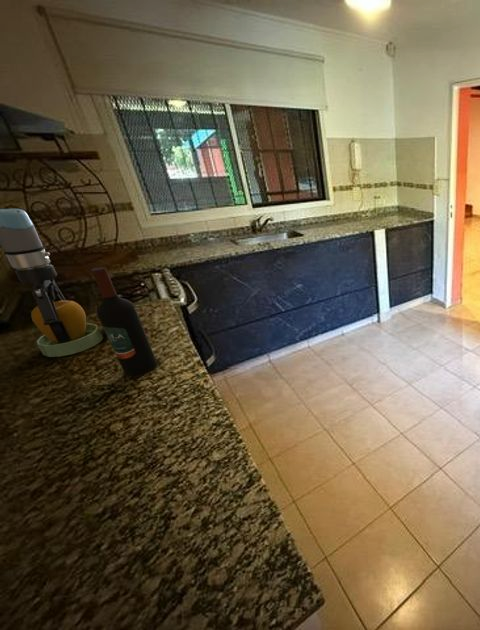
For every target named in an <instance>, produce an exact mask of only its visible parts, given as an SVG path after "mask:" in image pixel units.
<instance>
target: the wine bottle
mask: <svg viewBox="0 0 480 630" xmlns="http://www.w3.org/2000/svg"><path fill="white" fill-rule="evenodd" d="M90 272H91V274H92V277H93V278H94V280H95V282H96V285H97V287H98V289H99V292H100V294H101V296H102V302H101V303H100V304H99V305H98V306H97V309H96V316H97V315H98V317H99V319H100V322H101V324H102V325H101V324H100V325H101V326H102V328H103V330H104V332H105V335H106V336H107V339H108V341H109V343H110V345H111V347H112V350H113V352H114V354H115V356H116V359H117V360H118V363H119V364H120V366H121V369H122V371H123V373H124V375H125V376H126V377H139V376H143V375H146V374H148V373H150V372H152V371H153V370H155V369H156V368H157V367H158V365H159V363H158V361H157V358H156V356H155V353H154V351H153V348H152V346H151V343H150V341H149V337H148V336H147V334H146V331H145V329H144V326H143V324H142V321H141V319H140V316H139V314H138V311H137V309H136V305H134V303H133V302H132V301H130V300H128V299H126V298H123V297H120V296H119V295H118V294H117V291H116V289H115V287H114V283H113V282H112V280H111V277H110V275H109V271H108V269H107V268H106V267H105V266H99V267H94V268H91V269H90ZM100 322H99V323H100Z"/></svg>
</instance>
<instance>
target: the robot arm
mask: <svg viewBox="0 0 480 630" xmlns="http://www.w3.org/2000/svg"><path fill="white" fill-rule="evenodd" d="M0 247H1V248H2V251H3V252H4V254H5V256H6V258H7V260H8V261H9V264H10V266H11V267H12V268H13V269H15V271H14V273H15V274H16V276H17V278H18V280H19V281H20V282H21V283H23V284H32V290H31V292H30V293H31V294H32V296H33V298H34V300H35V302H36V306H38V307H39V310H40V312H41V315H42V317H43V320H44V323H43V324H44V325H49V326H50V328H51V330H52V332H53V333H54V335H55V337H56V339H57V341H58V343H64V342H68V341H71V338H70V336H69V334H68V332H67V330H66V328H65V326H64V324H63V322H62V321H60V319H59V316H58V312H57V309H56V306H55V303H54V302H55V301H63V300H67V299H66V298H65V295H64V293H62V291H61V290H60V287H59V286H58V285H57V282H56V281H55V278H57V277H58V273H57V271H56V269H55V267H54V265H53V264H51V259H50V256H51V253H50V252H47V251H46V250H45V247H44V245H43V244H42V241H41V239H40V237H39V234H38V232H37V230H36V228H35V224H34V223H33V221H32V220H31V218H30V217H29V215H28V213H27V212H26V211H25V210H24V209H21V208H1V209H0ZM50 319H52V320H50Z"/></svg>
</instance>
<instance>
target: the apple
mask: <svg viewBox="0 0 480 630" xmlns="http://www.w3.org/2000/svg"><path fill="white" fill-rule="evenodd" d="M54 303H55V306H56V309H57V312H58V316H59V319H60V321H62V322H63V324H64V326H65V328H66V330H67V332H68V334H69V336H70V338H71V341H74V340H77V339H80V338H82V337H83V336H84V334H85V331H86V324H87V315H86V312H85V310H84V308H83V307H82V306H81V305H80V304H79V303H77V302H76V301H74V300H67V299H66V300H63V301H55V302H54ZM30 313H31V314H30V316H31V320H32V323H34V325H35V327H37V329H38V330H39V331H40V332H41V333H42V334H43V335H45V336H46V337H47V338H48V339H50V340H51V341H53V342H55V343H57V344H61V343H58V341H57V339H56V337H55V335H54V333H53V332H52V330H51V328H50V326H49V325H44V324H43V323H44V320H43V317H42V315H41V312H40V310H39V307H38V305H36V306H35V307H34V308H33V309H32V310H31V312H30ZM50 320H52V319H50ZM68 342H70V341H68ZM64 343H67V342H64Z"/></svg>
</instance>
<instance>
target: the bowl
mask: <svg viewBox="0 0 480 630" xmlns="http://www.w3.org/2000/svg"><path fill="white" fill-rule="evenodd" d="M103 339H104V336H103V334H102V331H101V329H100V327H99V325H98V324H95V323H86V331H85V334H84V336H83V337H82V338H80V339H77V340H74V341H70V342H67V343H61V344H57V343H55V342H53V341H51V340H50V339H48V338H47V337H46V336H45V335H44V334H43V335H42V336H40V337H39V338H38V339H37V340H36V345H37V347H38V348H39V350H40V352H41V354H42V355H43V356H45V357H49V358H59V357H64V356H65V357H66V356H70V355H71V356H72V355H75V354H78V353H81V352H83V351H86V350H88V349H91V348H93V347H95V346H96V345H98V344H100V343H101V342H102V341H103Z"/></svg>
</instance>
